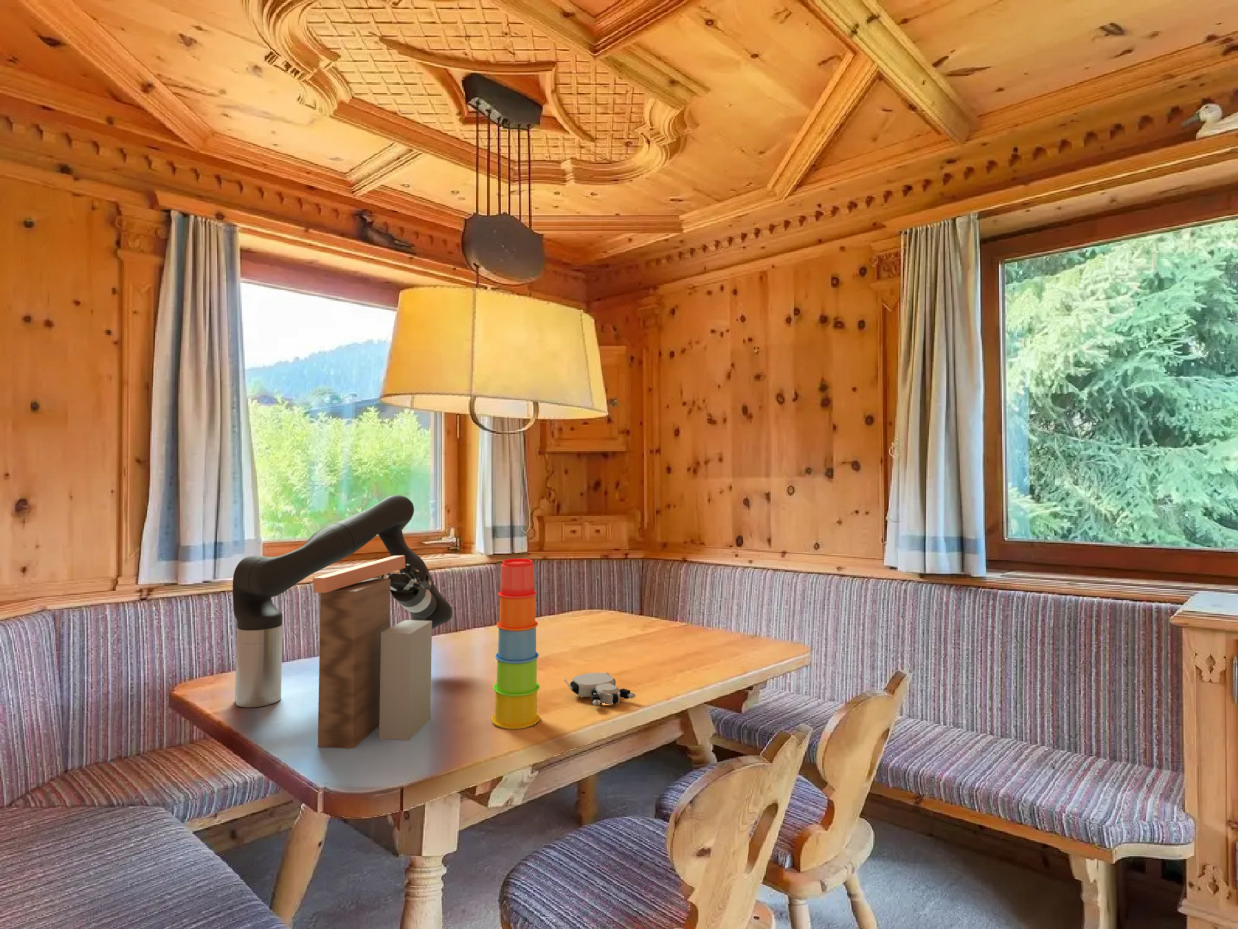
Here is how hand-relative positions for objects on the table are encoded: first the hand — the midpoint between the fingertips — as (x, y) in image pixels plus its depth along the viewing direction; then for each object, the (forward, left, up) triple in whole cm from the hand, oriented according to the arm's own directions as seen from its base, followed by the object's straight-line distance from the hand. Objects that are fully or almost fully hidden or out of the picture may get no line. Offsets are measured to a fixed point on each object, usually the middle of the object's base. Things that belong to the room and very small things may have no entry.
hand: (388, 567), depth 153 cm
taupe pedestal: (+14, -6, -31) cm, 35 cm away
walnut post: (+7, -13, -31) cm, 35 cm away
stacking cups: (+29, +11, -32) cm, 45 cm away
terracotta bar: (+6, -11, -1) cm, 12 cm away
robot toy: (+35, +33, -32) cm, 58 cm away
